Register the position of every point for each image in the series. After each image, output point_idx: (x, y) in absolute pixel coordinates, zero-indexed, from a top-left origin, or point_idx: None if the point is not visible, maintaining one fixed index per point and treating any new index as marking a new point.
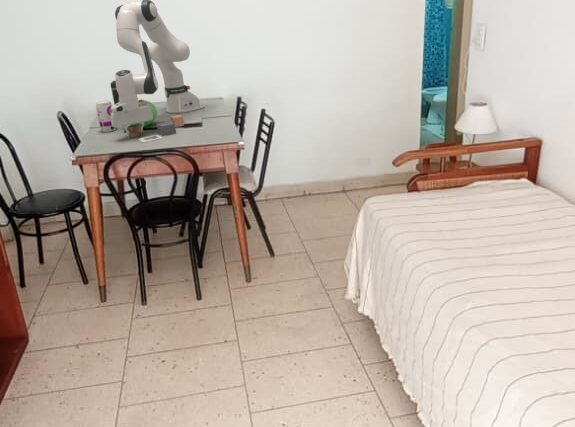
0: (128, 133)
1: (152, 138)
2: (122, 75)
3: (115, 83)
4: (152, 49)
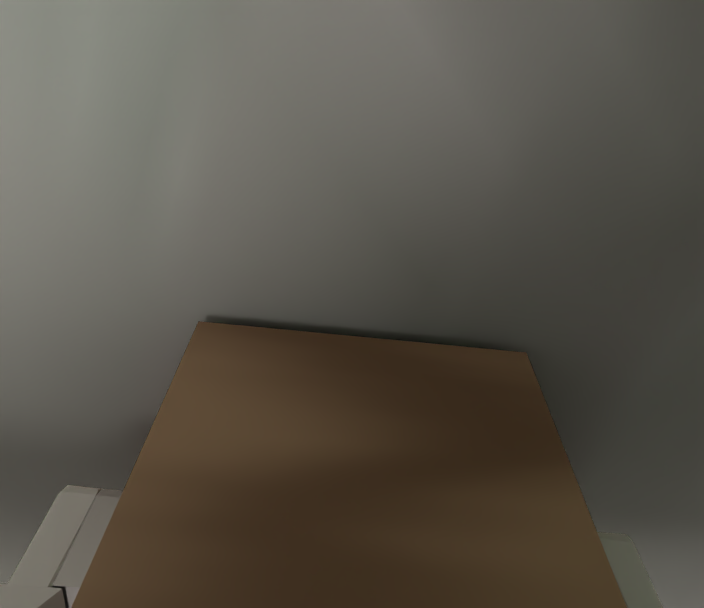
0: None
1: None
2: None
3: None
4: None
